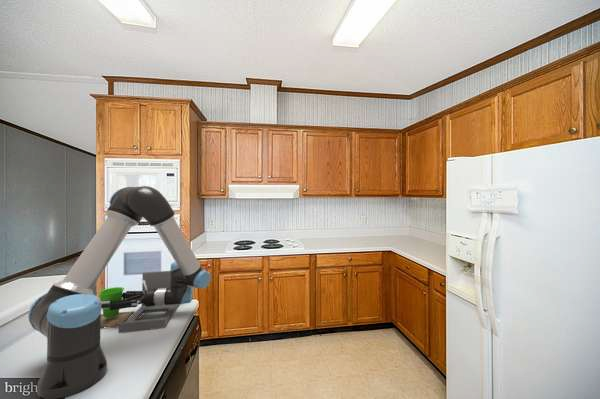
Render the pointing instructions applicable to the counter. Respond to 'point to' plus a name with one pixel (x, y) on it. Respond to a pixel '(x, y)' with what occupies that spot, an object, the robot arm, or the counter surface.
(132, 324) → the equipment case
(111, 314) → the cup
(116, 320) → the board
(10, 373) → the counter surface
